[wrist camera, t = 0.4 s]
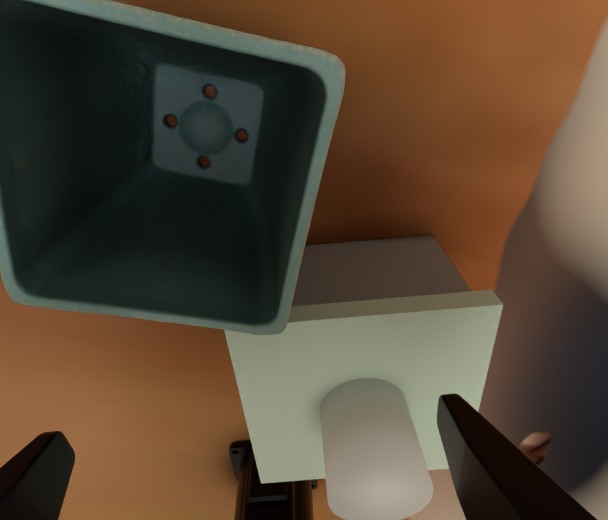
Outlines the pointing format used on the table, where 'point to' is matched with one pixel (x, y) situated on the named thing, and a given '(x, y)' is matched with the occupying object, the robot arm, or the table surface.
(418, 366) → the lid
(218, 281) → the flower pot
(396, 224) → the table surface
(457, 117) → the table surface
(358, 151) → the table surface
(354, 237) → the table surface
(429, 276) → the storage box
